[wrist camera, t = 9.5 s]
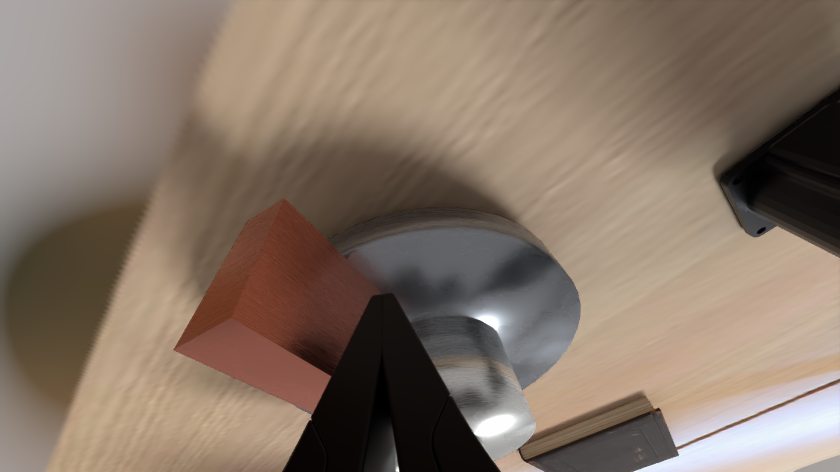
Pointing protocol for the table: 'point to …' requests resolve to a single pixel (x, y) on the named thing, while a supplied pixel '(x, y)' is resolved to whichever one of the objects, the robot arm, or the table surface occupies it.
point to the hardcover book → (606, 442)
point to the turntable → (375, 293)
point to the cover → (479, 381)
